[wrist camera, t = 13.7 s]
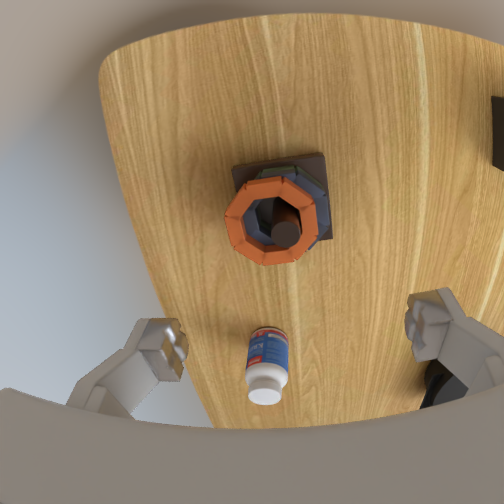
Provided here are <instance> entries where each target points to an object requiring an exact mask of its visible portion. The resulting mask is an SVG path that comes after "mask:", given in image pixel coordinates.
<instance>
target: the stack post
mask: <svg viewBox="0 0 504 504" xmlns="http://www.w3.org/2000/svg"><path fill="white" fill-rule="evenodd" d="M232 175H233V179H234V184H235V188H236V192H237V193H238V191H239V190H240V189H241V187H242V186H243V184H244V183H245V184H247V182H248V181H252V180H258V179H264V178H270V177H277V176H281V177H282V179H283V178H284V177H286V178H287V179H289V180H290V181H292V182H293V183H295V184H296V185H297V186H299V187H300V188H302V189H303V190H304V191H306V192H307V193H309V194H310V195H311V196H312V199H314V203H315V208H316V217H317V225H318V235H317V239H316V240H315V241H314V242H313V243H312V244H311V246H310V247H309V248H308V250H310V249H311V248H312V247H313V246H314V244H315V243H316V242H317V241H321V240H328V239H333V232H332V221H331V210H330V200H329V190H328V182H327V173H326V165H325V157H324V155H323V153H315V154H307V155H299V156H292V157H285V158H278V159H272V160H266V161H259V162H253V163H247V164H242V165H236V166H233V168H232ZM243 220H244V225H245V229H246V233H247V234H248V235H249V236H251V237H252V238H254V239H256V240H257V241H259V242H260V243H262V244H263V245H265V246H268V245H278V246H280V247H283V248H288V247H292V246H294V245H295V244H297V243H298V241H299V240H300V236H301V232H300V228H301V227H302V225H301V218H300V211H299V210H298V209H297V208H295V207H294V206H292V205H291V204H289V203H288V202H287V201H285V200H284V199H282V198H281V197H279V196H277V197H271V198H264V199H257V200H254V201H253V202H252V203H251V205H250V206H249V208H248V209H247V210H246V212H245V213H244V214H243ZM305 252H306V251H305Z"/></svg>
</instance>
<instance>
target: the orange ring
mask: <svg viewBox="0 0 504 504" xmlns="http://www.w3.org/2000/svg"><path fill="white" fill-rule="evenodd" d="M277 196H279V197H281V198H282V199H284V200H285V201H287V202H288V203H289V204H291V205H292V206H294V207H295V208H297V209H298V210H299V211H300V218H301V225H302V227H301V228H300V232H301V236H300V240H299V241H298V243H297V244H295V245H294V246H292V247H288V248H283V247H280V246H278V245H268V246H265V245H263V244H262V243H260V242H259V241H257V240H256V239H254V238H252V237H251V236H249V235H248V234H247V233H246V229H245V225H244V220H243V214H244V213H245V212H246V210H247V209H248V208H249V206H250V205H251V203H252V202H253V201H254V200H257V199H264V198H271V197H277ZM224 219H225V223H226V227H227V231H228V235H229V239H230V242H231V246H234V250H236V251H238V252H239V253H241V254H243V255H244V256H246V257H247V258H249V259H251V260H252V261H254V262H256V263H257V264H259V265H261V263H263V266H265V265H273V264H281V263H289V262H294V259H296V260H298V259H299V258H300V257H301V256H302V255H303V253H304V252H305V251H306V250H307V249H308V248H309V247H310V246H311V244H312V243H313V242H314V241H315V240H316V239H317V235H318V225H317V217H316V208H315V203H314V199H312V196H311V195H310V194H309V193H307V192H306V191H304V190H303V189H302V188H300V187H299V186H297V185H296V184H295V183H293V182H292V181H290V180H289V179H287V178H286V177H284V178H283V179H282V177H281V176H277V177H270V178H264V179H258V180H252V181H248V182H247V184H245V183H244V184H243V186H242V187H241V189H240V190H239V191H238V193H237V194H236V196H235V197H234V199H233V200H232V201H231V203H230V204H229V206H228V207H227V209H226V212H225V216H224Z"/></svg>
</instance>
